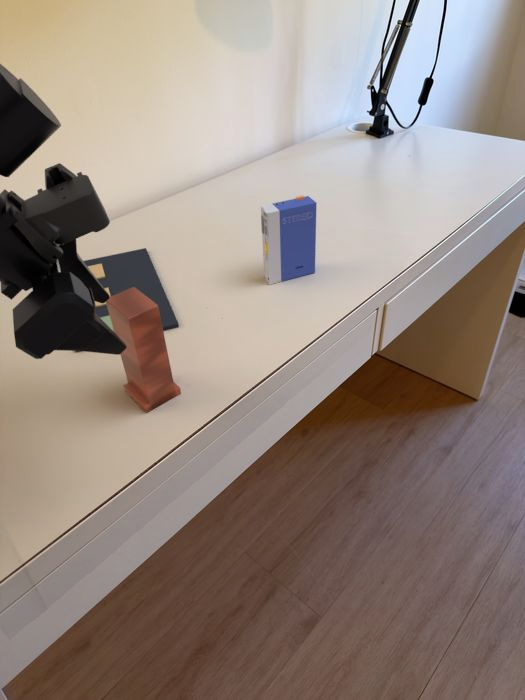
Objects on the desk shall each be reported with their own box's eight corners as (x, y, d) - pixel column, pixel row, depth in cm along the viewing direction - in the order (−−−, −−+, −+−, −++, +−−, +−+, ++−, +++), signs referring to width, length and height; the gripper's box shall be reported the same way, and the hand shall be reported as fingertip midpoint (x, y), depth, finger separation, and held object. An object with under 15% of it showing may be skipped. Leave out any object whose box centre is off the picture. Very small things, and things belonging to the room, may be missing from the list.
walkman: (307, 265, 85) (308, 193, 77) (315, 273, 83) (316, 200, 75) (262, 276, 83) (258, 203, 75) (269, 284, 81) (265, 211, 73)
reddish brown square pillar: (146, 413, 60) (122, 321, 52) (124, 391, 63) (99, 301, 55) (181, 393, 63) (163, 302, 54) (158, 373, 66) (139, 284, 57)
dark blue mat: (179, 326, 73) (178, 321, 73) (76, 352, 70) (74, 347, 69) (146, 250, 91) (145, 246, 90) (63, 268, 87) (61, 263, 87)
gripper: (52, 186, 33) (203, 320, 44) (34, 114, 47) (152, 229, 57) (-68, 302, 35) (107, 405, 45) (-52, 198, 48) (79, 296, 59)
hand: (114, 323), depth 52 cm, fingers open, 9 cm apart
